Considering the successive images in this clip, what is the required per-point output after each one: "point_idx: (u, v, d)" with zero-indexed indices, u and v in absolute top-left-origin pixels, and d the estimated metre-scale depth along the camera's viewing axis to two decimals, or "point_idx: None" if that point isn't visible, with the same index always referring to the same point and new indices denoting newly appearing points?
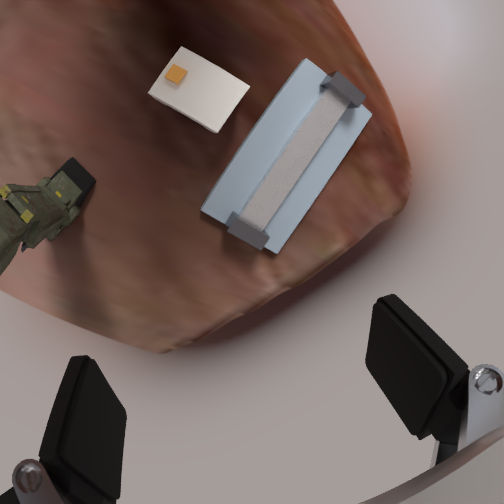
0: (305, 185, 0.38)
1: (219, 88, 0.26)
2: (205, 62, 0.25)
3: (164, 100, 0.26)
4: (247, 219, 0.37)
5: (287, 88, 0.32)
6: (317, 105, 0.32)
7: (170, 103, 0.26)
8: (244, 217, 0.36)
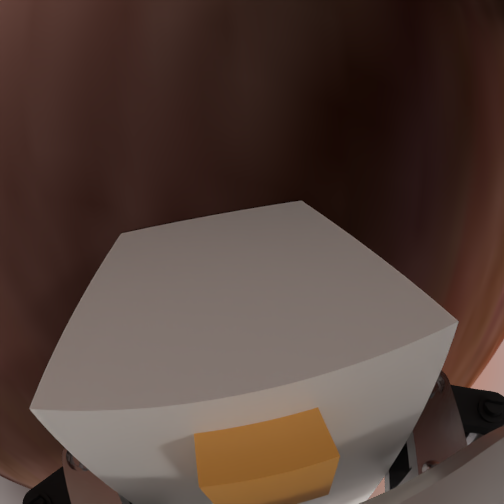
0: None
1: None
2: (397, 442, 0.05)
3: (101, 475, 0.03)
4: None
5: None
6: None
7: (121, 490, 0.04)
8: None
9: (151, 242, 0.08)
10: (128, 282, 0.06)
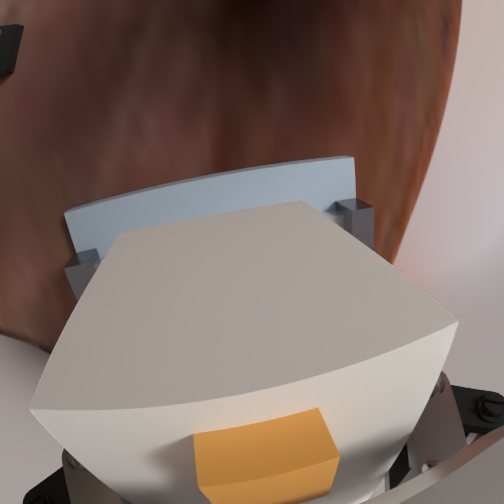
0: None
1: None
2: (397, 442, 0.05)
3: (100, 475, 0.03)
4: None
5: (296, 169, 0.22)
6: None
7: (120, 490, 0.04)
8: None
9: (151, 241, 0.08)
10: (127, 281, 0.06)
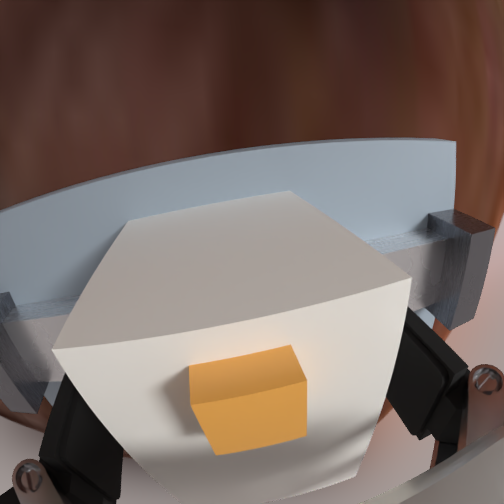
0: None
1: (306, 470, 0.07)
2: (374, 401, 0.06)
3: (107, 422, 0.05)
4: (15, 341, 0.09)
5: (376, 151, 0.11)
6: (398, 254, 0.11)
7: (123, 440, 0.05)
8: (11, 333, 0.09)
9: (156, 226, 0.09)
10: (137, 256, 0.07)
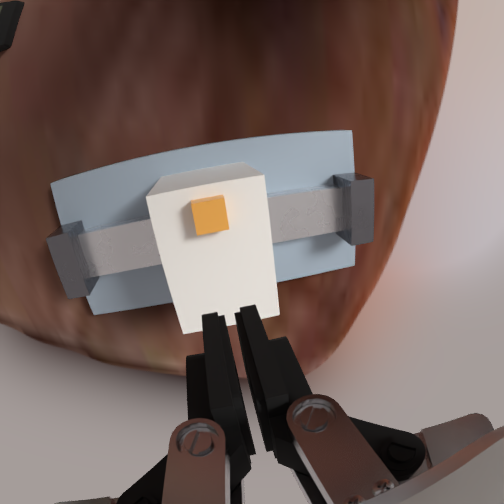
0: None
1: (243, 287, 0.17)
2: (265, 235, 0.16)
3: (156, 233, 0.15)
4: (84, 247, 0.20)
5: (292, 139, 0.21)
6: (305, 194, 0.21)
7: (160, 246, 0.15)
8: (82, 241, 0.19)
9: (176, 176, 0.19)
10: (171, 181, 0.17)
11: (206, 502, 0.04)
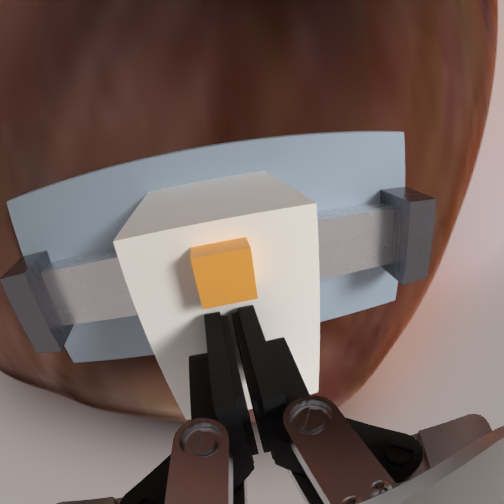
0: None
1: None
2: (311, 297, 0.10)
3: (136, 298, 0.09)
4: (50, 288, 0.14)
5: (331, 141, 0.15)
6: (349, 218, 0.15)
7: (143, 317, 0.09)
8: (47, 281, 0.13)
9: (169, 193, 0.13)
10: (159, 205, 0.11)
11: (210, 502, 0.04)
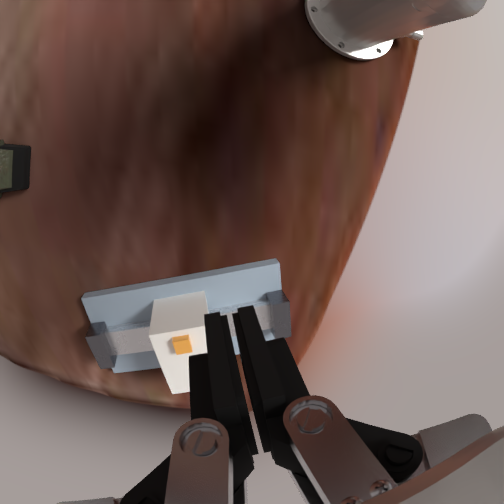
0: None
1: None
2: None
3: (155, 350, 0.27)
4: (109, 339, 0.32)
5: (236, 274, 0.34)
6: None
7: (158, 356, 0.27)
8: (107, 336, 0.31)
9: (163, 304, 0.31)
10: (160, 315, 0.29)
11: (210, 502, 0.04)
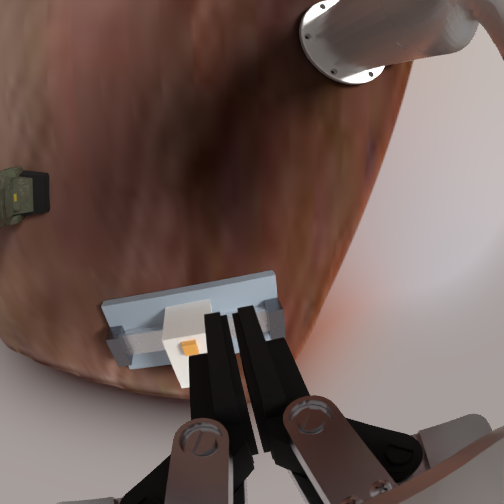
0: None
1: None
2: None
3: (168, 352, 0.32)
4: (126, 341, 0.37)
5: (237, 285, 0.38)
6: None
7: (170, 357, 0.33)
8: (125, 338, 0.37)
9: (174, 311, 0.37)
10: (171, 322, 0.35)
11: (211, 502, 0.04)
